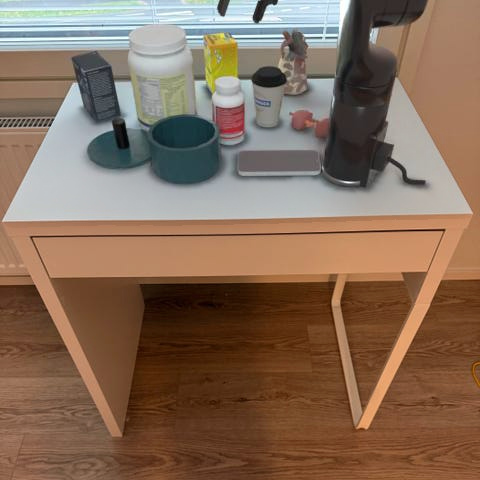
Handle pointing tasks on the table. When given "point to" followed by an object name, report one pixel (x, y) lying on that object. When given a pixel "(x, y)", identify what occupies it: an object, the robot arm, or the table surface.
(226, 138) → the pill bottle
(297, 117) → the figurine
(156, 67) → the supplement tub
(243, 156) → the smartphone
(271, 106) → the coffee cup
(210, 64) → the supplement box
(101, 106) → the box
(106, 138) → the lid
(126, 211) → the table surface
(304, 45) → the figurine
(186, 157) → the tin
